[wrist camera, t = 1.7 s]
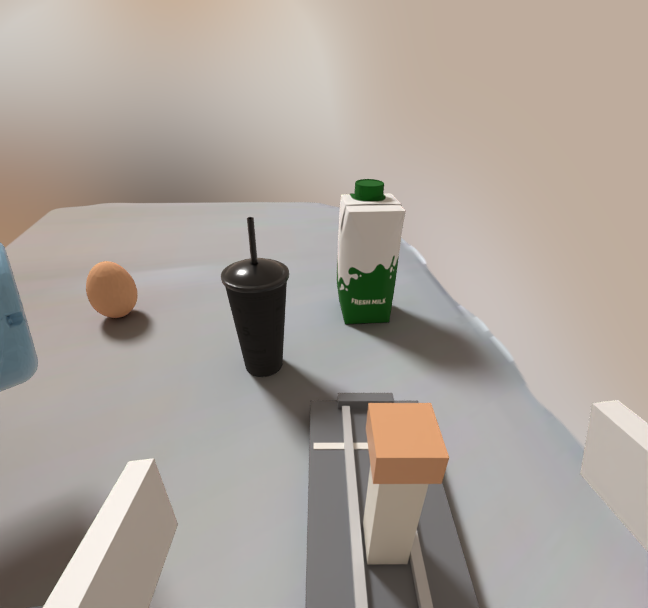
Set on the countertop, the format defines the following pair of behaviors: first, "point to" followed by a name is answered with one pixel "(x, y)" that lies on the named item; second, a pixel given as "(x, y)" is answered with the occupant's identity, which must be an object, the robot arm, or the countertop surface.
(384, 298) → the milk carton
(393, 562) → the fader
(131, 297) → the egg
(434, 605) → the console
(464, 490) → the countertop surface
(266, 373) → the drinking cup
